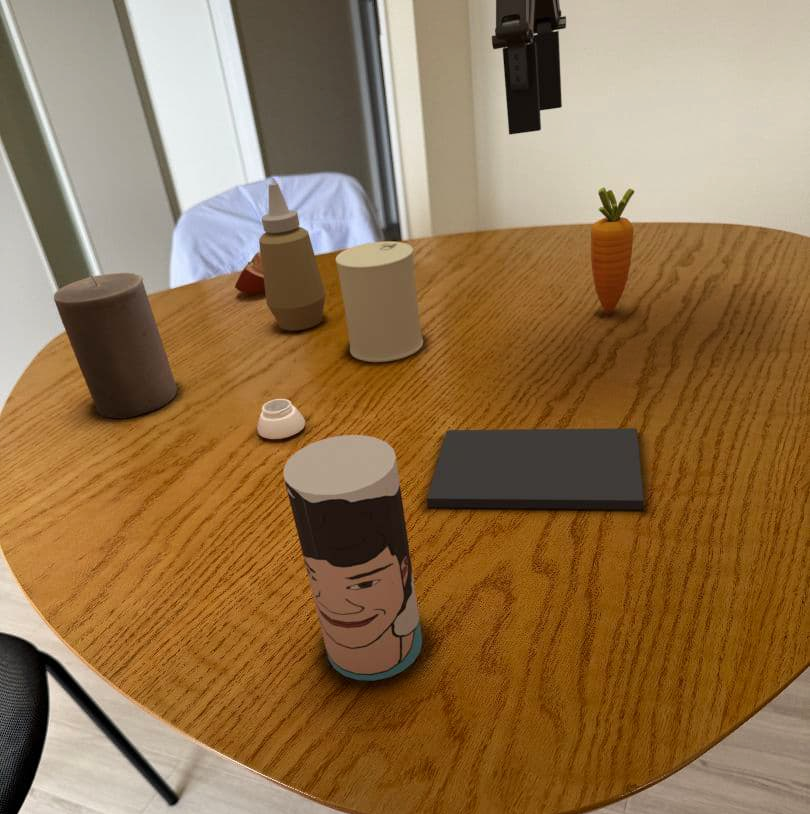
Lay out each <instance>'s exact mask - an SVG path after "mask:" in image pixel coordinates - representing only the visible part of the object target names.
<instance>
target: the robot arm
mask: <svg viewBox="0 0 810 814" xmlns="http://www.w3.org/2000/svg"><path fill="white" fill-rule="evenodd" d="M560 5H561V4H560V0H495V28H494V34H495V35H491V46H492V49H493V50H499V49H502V60H503V61H502V62H503V73H504V85H505V88H504V89H505V99H506V112H507V114H506V115H507V124H508V125H507V126H508V127H507V128H508V135H509V136H510V135H516V134H517V135H518V134H524V133H532V132H540V131H541V130H542V122H541V120H542V119H541V111H548V110H555V109H561V108H562V107H563V102H562V101H563V100H562V78H561V77H562V75H561V57H560V56H561V55H560V54H561V53H560V32H559V30H564V29H566V28H567V15H563V16H562V10H561V6H560Z"/></svg>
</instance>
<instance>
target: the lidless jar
mask: <svg viewBox="0 0 810 814" xmlns="http://www.w3.org/2000/svg"><path fill="white" fill-rule="evenodd" d="M258 418H259V419H258V422H257V426H256V429H257V433H258V435H259V436H261V437H262V438H265V439H268V440H269V439H270V440H282V439H287V438H290V437H292V436H294V435H296V434H298V433H300V432H301V431H302V430H303V429H304V428H305V425H306V420H305V417H304V415H302V413H301V412H300V410H298V409H297V407H296V406H295V405H293V404H292V402H291V401H290V400H289V399H287V398H276V399H272V400H269V401H267V402H265V403H264V404H263V405H262V407H261V413H260V414H259V417H258Z"/></svg>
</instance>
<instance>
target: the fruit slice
mask: <svg viewBox="0 0 810 814" xmlns="http://www.w3.org/2000/svg"><path fill="white" fill-rule="evenodd" d="M234 288H235V289H236V290H238V291H239V292H241V293H243V294H248V295H255V294H256V295H257V294H260V293H263V292H265V284H264V276H263V268H262V260H261V252H260V251H259V252H258V251H257V252H256V253H255V254H254V256H253V257H252V258H251V260H250V261H248V262H247V263H246V265H245V266H244V267H243V270H242V271H241V272H240V275H239V277H238V279H237V281H236V282H235V285H234Z"/></svg>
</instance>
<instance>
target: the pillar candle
mask: <svg viewBox="0 0 810 814" xmlns="http://www.w3.org/2000/svg"><path fill="white" fill-rule="evenodd" d="M143 280H144V277H143V276H142V275H140V274H137V273H136V274H135V273H133V272H132V273H130V272H118V273H116V272H113V273H106V274H98V275H93V274H90V276H89V277H86V278H83V279H80V280H77V281H73V282H71V283H69V284H66V285H65V286H63V287H61V288H59V289H57V290H56V292H54V294H53V301H54V303H55V307H56V310H57V311H58V314H59V317H60V320H61V323H62V325H63V328H64V329H65V333H66V335H67V337H68V340H69V343H70V346H71V349H72V351H73V354H74V356H75V359H76V361H77V364H78V366H79V369H80V371H81V375H82V376H83V379H84V381H85V384H86V387H87V389H88V391H89V394H90V397H91V399H92V401H93V404H94V406H95V409H96V412H97V413H98V415H101V416H103V417H106V418H113V419H127V418H128V419H129V418H132V417H136V416H141V415H144V414H149V413H150V412H153V411H156V410H158V409H160V408H162V407H164V406H165V405H167V404H168V403H170V402H171V401H172V400H173V399H174V398H175V397H176V395H177V393H178V388H177V384H176V380H175V378H174V374H173V371H172V368H171V365H170V362H169V358H168V355H167V352H166V348H165V347H164V344H163V340H162V337H161V334H160V330H159V327H158V324H157V320H156V318H155V315H154V312H153V309H152V305H151V303H150V299H149V297H148V293H147V291H146V287H145V284H144V282H143Z"/></svg>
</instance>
